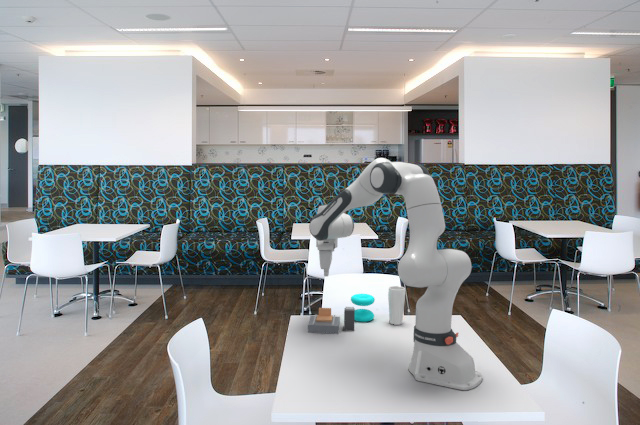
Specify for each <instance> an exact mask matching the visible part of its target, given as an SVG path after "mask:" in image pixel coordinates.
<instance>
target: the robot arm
mask: <svg viewBox="0 0 640 425" xmlns="http://www.w3.org/2000/svg"><path fill="white" fill-rule="evenodd" d="M383 195H398V196H402V197H403V199H404V202H405V208H406V215H407V221H408V227H409V228H408V229H409V239H408V240H409V241H408V246H407V248H406V251H405V253H404V255H403V256H402V257H401V258H400V260H399V261H398V265H397V273H398V274H397V275H398V277H399V279H400V281H401V282H402V283H403V284H404V285H405V286H407V287H412V288H426V290H425V292H424V294H422V296H420V297H419V298H418V300H417V302H416V304H415V323H414V324H415V325H414V326H413V339H412V340H413V350H412V355H411V360H410V363H409V367H408V371H409V373H411V374H412V375H413V377H414V379H415V380H416V381H419V382H422V383H427V384H432V385H438V386H441V387H446V388H451V389H455V390H460V391H467V390H468V391H469V390H472V389H474V388H476V387H477V386H479V385H480V384H481V383H482V381H483V375H482V372H480V371H478V370H477V371H476V368H475V367H476V366H475V361H474V358H473V356H472V355H471V354H469V353H468V352H467V351H466V350H465V349H464V348H463V347H462V346H461V345H460V344H459V343H458V342H457V338H458V337H459V332H456V333H455V332H454V331H453V329H452V318H453V316H452V315H453V306H454V303H455V299H456V296H457V294H458V291H459V289H460V287H461V286H462V284H463V283H464V282H465V280H466V279H467V278H468V277H469V276H470V275H471V272H472V262H471V261H472V260H471V258H470V257H469V255H468V254H467V253H466V252H465V251H463V250H460V249H454V248H446V249H445V248H444V249H438V246H437V245H438V240H439V237H441V235H442V234H443V233H444V232H445V230H446V222H445V217H444V211H443V207H442V202H441V197H440V194H439V192H438V188H437V185H436V183H435V180H434V179H433V177H432V176H431V175H430V171H428V169H427V167H425V166H424V165H421V164H418V163H409V162H404V161H391V160H390V159H387V158H385V157H378V158H376V159H374V160H372V162H370V163H369V164H368V165H367V166H366V167H365V168H364V169H363V170H362V172H361V173H360V174H359V176H358V177H357V178H356V179H355V180H354V181H352V183H350V185H348V186H347V187H346V188H345V189H343V190H341V192H339V193H338V194H337V195H336V196H335V197H334V198H333V199H332V200H331V201H330V202H329V203H327V204H320V205H319V206H318V209H317V210H316V211H317V213H316V214H314V216H313V217H312V218H311V220H310V223H309V225H308V226H309V228H308V229H309V232H310V235H311V236H312V237H313V238H314V239H315V242H316V243H315V247H316V248H317V251H318V257H319V258H318V259H319V265H320V270H323V276H324V277H329V274H330V268H331V264H332V261H333V252H335V249H337V248H338V239H340V238H341V239H343V238H348V237H350V236H352V234H353V233H354V229H355V223H354V220H353V217H352V216H351V215H350V214H347V213H346V212H347V211H350V210H353V209H357V208H363V207H368V206H371V205H373V204H375V203H376V202H377V201H379V200H380V199H381V198H382V197H383Z"/></svg>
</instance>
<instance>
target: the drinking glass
mask: <svg viewBox="0 0 640 425" xmlns="http://www.w3.org/2000/svg"><path fill="white" fill-rule="evenodd" d="M387 296H388V312H389V315H388V316H389V324H391V325H393V324H394V326H400V325H402V324H403V319H404V318H403V317H404V310H405V299H406V288H405V287H404V286H402V285H401V286H400V285H392V286H389V287H388V294H387Z"/></svg>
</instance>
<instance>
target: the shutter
mask: <svg viewBox="0 0 640 425" xmlns="http://www.w3.org/2000/svg"><path fill="white" fill-rule="evenodd" d="M333 316H334V314H333V315H332V308H331V307H318V314H317V318H316V321H318V322H332V318H333Z"/></svg>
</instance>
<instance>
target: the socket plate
mask: <svg viewBox="0 0 640 425" xmlns="http://www.w3.org/2000/svg"><path fill="white" fill-rule="evenodd" d="M317 315H318V314H314V315H310V317H309V320H308V323H307V333H310V334H311V333H313V334H314V333H315V334H337V335H338V334H339V332H340V324H341V321H340V320H341V317H340V316H336V314H333V318H332V322H318V321H316V318H317Z"/></svg>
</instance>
